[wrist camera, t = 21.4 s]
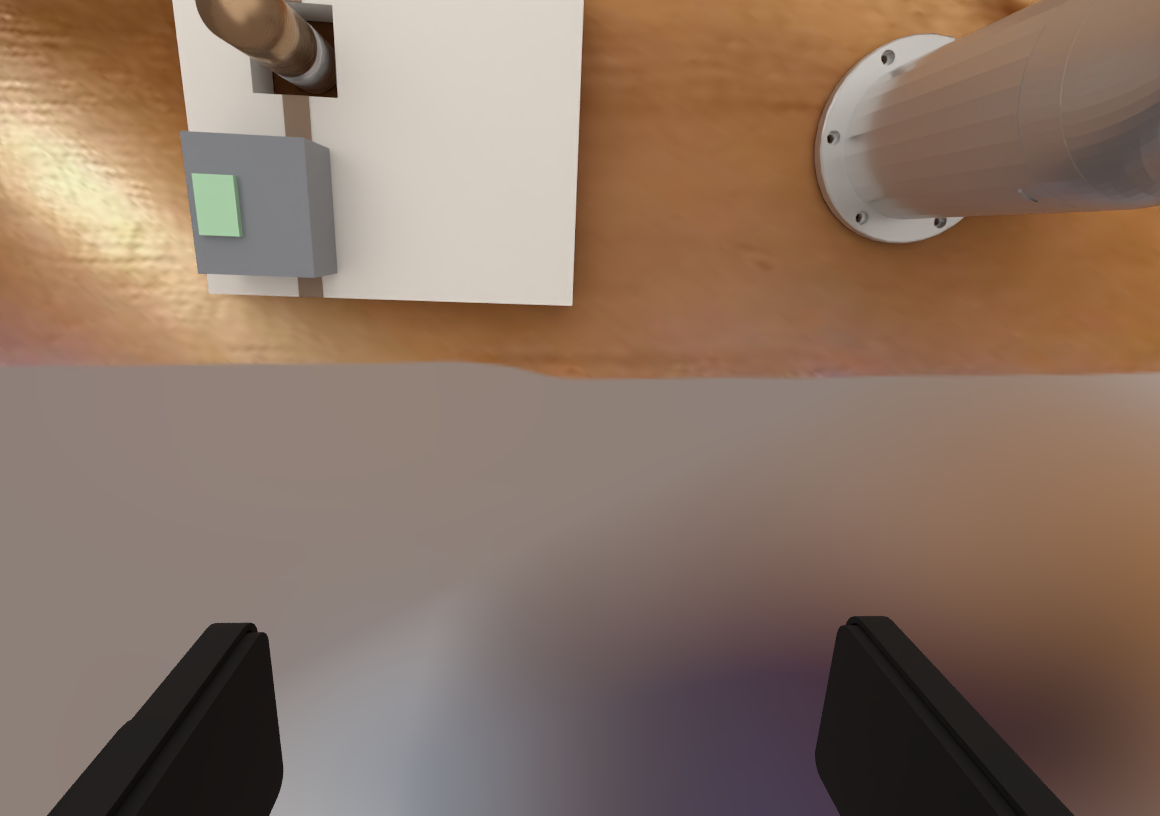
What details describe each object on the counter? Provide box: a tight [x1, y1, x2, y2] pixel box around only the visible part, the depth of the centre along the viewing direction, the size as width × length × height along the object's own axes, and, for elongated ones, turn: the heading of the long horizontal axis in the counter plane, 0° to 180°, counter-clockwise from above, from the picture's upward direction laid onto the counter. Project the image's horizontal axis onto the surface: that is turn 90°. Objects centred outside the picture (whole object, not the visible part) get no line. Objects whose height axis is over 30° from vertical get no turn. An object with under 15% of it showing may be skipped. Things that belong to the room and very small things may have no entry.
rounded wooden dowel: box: [195, 0, 337, 94], centre depth 31 cm, size 3×3×10 cm
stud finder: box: [180, 131, 337, 278], centre depth 33 cm, size 6×7×4 cm
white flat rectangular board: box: [172, 0, 584, 306], centre depth 36 cm, size 22×18×3 cm
